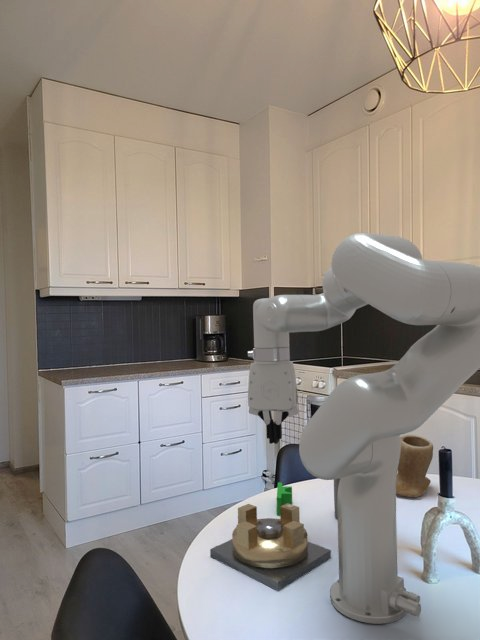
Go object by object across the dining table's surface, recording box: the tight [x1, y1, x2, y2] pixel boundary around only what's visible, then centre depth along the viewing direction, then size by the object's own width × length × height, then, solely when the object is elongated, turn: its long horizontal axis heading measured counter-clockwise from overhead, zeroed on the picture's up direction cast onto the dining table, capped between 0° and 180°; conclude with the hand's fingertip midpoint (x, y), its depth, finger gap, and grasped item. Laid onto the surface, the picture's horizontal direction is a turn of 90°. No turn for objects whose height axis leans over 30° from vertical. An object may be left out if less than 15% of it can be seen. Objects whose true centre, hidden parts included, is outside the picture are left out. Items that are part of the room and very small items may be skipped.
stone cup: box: [396, 434, 434, 498], centre depth 130 cm, size 15×12×15 cm
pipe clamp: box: [276, 482, 293, 517], centre depth 121 cm, size 11×4×5 cm, turn 174°
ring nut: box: [231, 503, 309, 568], centre depth 95 cm, size 15×15×7 cm
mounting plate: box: [209, 539, 332, 592], centre depth 95 cm, size 18×16×2 cm
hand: (274, 442), depth 101 cm, fingers closed
